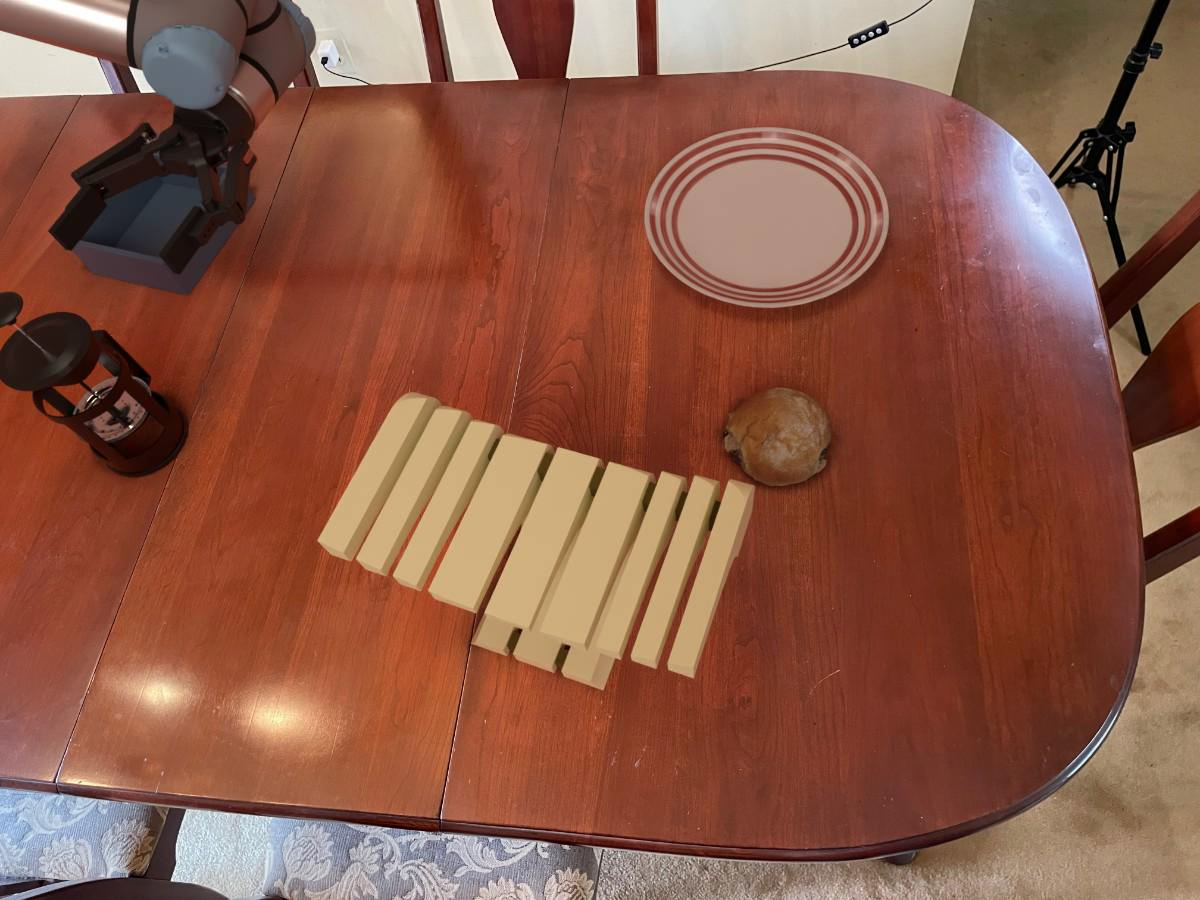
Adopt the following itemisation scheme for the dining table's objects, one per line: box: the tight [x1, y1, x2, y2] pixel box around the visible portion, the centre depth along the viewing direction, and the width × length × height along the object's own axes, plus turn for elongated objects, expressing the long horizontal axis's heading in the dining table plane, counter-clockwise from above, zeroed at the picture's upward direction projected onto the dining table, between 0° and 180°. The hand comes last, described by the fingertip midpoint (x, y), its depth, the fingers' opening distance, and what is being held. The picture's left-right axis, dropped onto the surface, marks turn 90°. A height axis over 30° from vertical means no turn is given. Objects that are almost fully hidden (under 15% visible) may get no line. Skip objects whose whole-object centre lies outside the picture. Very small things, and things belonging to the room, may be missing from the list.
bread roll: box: [721, 387, 833, 487], centre depth 83 cm, size 10×10×8 cm
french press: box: [0, 291, 189, 478], centre depth 84 cm, size 12×9×23 cm
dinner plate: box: [643, 126, 890, 309], centre depth 97 cm, size 27×27×3 cm
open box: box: [71, 152, 256, 297], centre depth 106 cm, size 15×17×6 cm
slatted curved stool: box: [316, 391, 756, 691], centre depth 72 cm, size 30×16×18 cm, turn 69°
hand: (113, 253), depth 84 cm, fingers open, 13 cm apart
